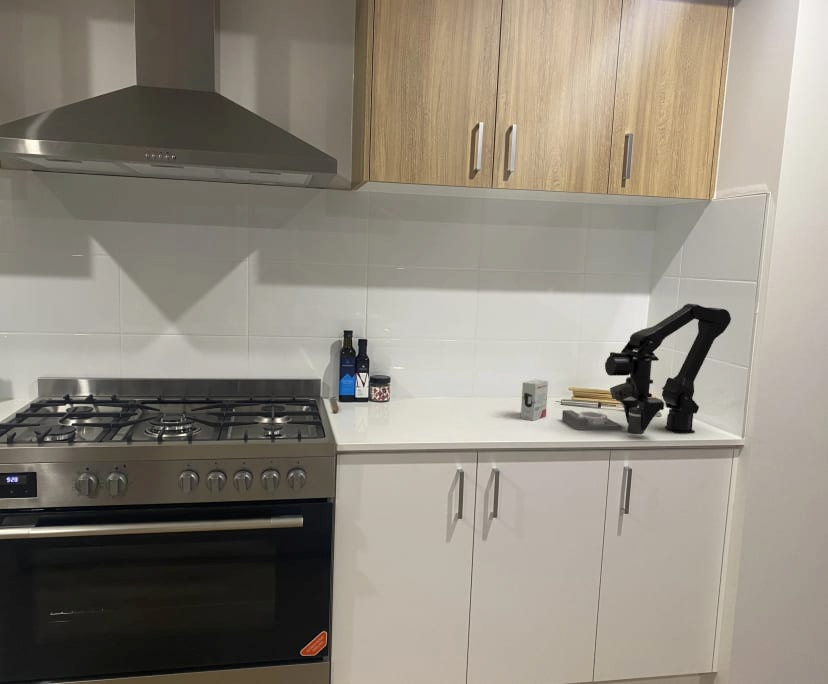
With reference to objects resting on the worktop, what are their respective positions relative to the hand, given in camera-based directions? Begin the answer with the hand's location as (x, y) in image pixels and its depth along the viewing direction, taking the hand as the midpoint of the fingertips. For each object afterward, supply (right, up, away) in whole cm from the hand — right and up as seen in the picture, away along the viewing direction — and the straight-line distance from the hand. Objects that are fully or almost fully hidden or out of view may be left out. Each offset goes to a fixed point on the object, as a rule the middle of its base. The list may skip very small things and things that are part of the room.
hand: (636, 426), depth 199 cm
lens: (0, -2, 0) cm, 2 cm away
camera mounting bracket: (-12, 0, +7) cm, 14 cm away
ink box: (-28, +1, +14) cm, 31 cm away
